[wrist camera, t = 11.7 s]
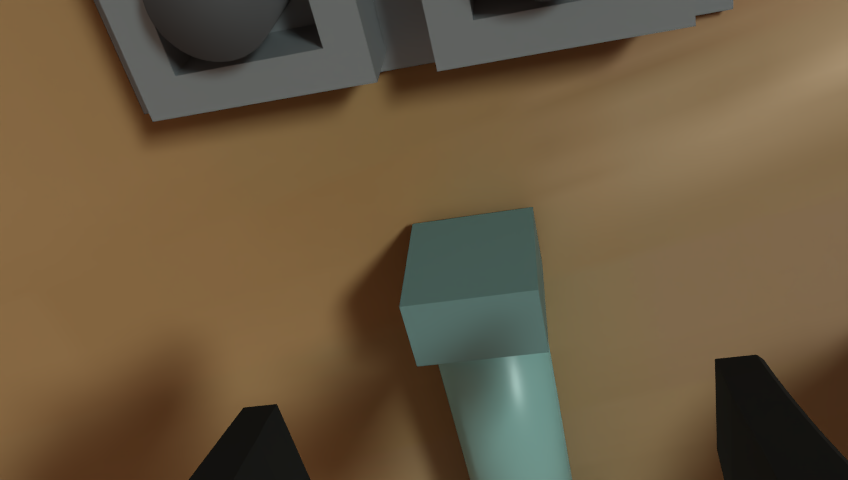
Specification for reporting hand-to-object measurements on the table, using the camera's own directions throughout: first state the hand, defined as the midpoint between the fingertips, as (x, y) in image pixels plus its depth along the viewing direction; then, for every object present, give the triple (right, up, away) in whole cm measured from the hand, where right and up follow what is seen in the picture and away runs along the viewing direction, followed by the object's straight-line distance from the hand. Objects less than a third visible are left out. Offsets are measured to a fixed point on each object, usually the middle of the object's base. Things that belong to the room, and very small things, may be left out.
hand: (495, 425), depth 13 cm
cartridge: (+2, -2, +13) cm, 13 cm away
